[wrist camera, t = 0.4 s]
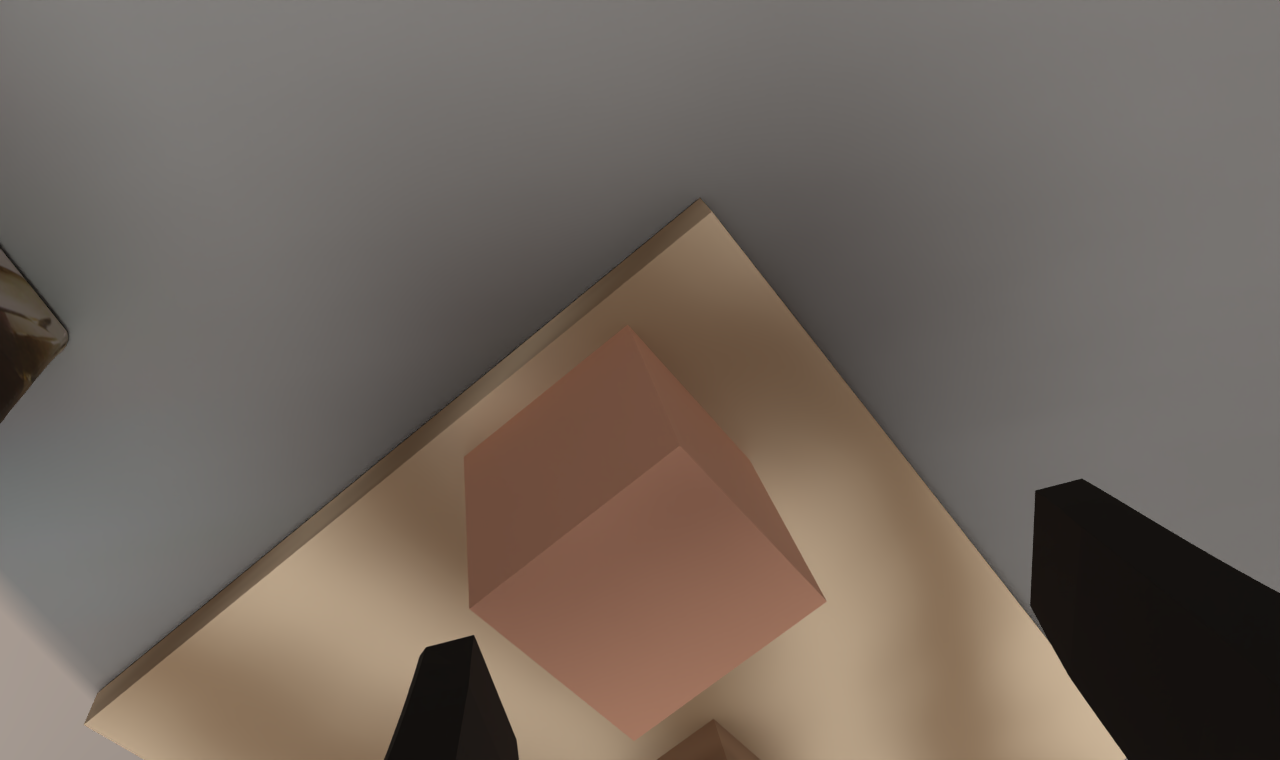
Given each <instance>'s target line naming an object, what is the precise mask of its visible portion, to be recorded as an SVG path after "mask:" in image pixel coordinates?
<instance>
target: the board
mask: <svg viewBox="0 0 1280 760" xmlns="http://www.w3.org/2000/svg"><path fill="white" fill-rule="evenodd" d="M626 325H629V327H630V328H631V329H632V330H633V331H634V332H635V333H636V334H637V335H638V337H639V338H640V339H641V340H642V341H643V342H644V343H645V344H646V345H647V347H648V348H649V349H650V350H651V351H652V352H653V353H654V354H655V355H656V357H657V358H658V359H659V360H660V361H661V362H662V363H663V364H664V365H665V367H666V368H667V369H668V370H669V371H670V372H671V373H672V374H673V375H674V377H675V378H676V379H677V380H678V381H679V382H680V383H681V384H682V385H683V387H684V388H685V389H686V390H687V391H688V392H689V393H690V394H691V395H692V397H693V398H694V399H695V400H696V401H697V402H698V403H699V404H700V405H701V407H702V408H703V409H704V410H705V411H706V412H707V413H708V414H709V415H710V417H711V418H712V419H713V420H714V421H715V422H716V423H717V424H718V425H719V427H720V428H721V429H722V430H723V431H724V432H725V433H726V434H727V435H728V437H729V438H730V439H731V440H732V441H733V442H734V443H735V444H736V445H737V447H738V448H739V449H740V450H741V451H742V452H743V453H744V454H745V455H746V457H747V458H748V459H749V460H750V461H751V463H752V465H753V467H754V469H755V471H756V472H757V474H758V476H759V478H760V480H761V482H762V483H763V485H764V487H765V489H766V491H767V493H768V494H769V496H770V498H771V500H772V502H773V504H774V505H775V507H776V509H777V511H778V513H779V515H780V516H781V518H782V520H783V522H784V524H785V526H786V527H787V529H788V531H789V533H790V535H791V537H792V538H793V540H794V542H795V544H796V546H797V548H798V549H799V551H800V553H801V555H802V557H803V559H804V560H805V562H806V564H807V566H808V568H809V570H810V571H811V573H812V575H813V577H814V579H815V581H816V582H817V584H818V586H819V588H820V590H821V592H822V593H823V595H824V597H825V599H826V601H827V602H826V603H824V604H823V605H821V606H820V607H819V608H817V609H816V610H814V611H813V612H812V613H810V614H809V615H808V616H806V617H805V618H803V619H802V620H801V621H799V622H798V623H797V624H795V625H794V626H792V627H791V628H790V629H788V630H787V631H785V632H784V633H783V634H781V635H780V636H779V637H777V638H776V639H774V640H773V641H772V642H770V643H769V644H768V645H766V646H765V647H763V648H762V649H761V650H759V651H758V652H757V653H755V654H754V655H752V656H751V657H750V658H748V659H747V660H745V661H744V662H743V663H741V664H740V665H739V666H737V667H736V668H734V669H733V670H732V671H730V672H729V673H728V674H726V675H725V676H723V677H722V678H721V679H719V680H718V681H717V682H715V683H714V684H712V685H711V686H710V687H708V688H707V689H705V690H704V691H703V692H701V693H700V694H699V695H697V696H696V697H694V698H693V699H692V700H690V701H689V702H688V703H686V704H685V705H683V706H682V707H681V708H679V709H678V710H677V711H675V712H674V713H672V714H671V715H670V716H668V717H667V718H665V719H664V720H663V721H661V722H660V723H659V724H657V725H656V726H654V727H653V728H652V729H650V730H649V731H648V732H646V733H645V734H643V735H642V736H641V737H639V738H638V739H637V740H635V741H633V740H632V739H631V738H629V737H628V736H627V735H626V734H624V733H623V732H622V731H621V730H619V729H618V728H617V727H616V726H614V725H613V724H612V723H611V722H609V721H608V720H607V719H606V718H605V717H603V716H602V715H601V714H600V713H598V712H597V711H596V710H595V709H593V708H592V707H591V706H590V705H588V704H587V703H586V702H585V701H583V700H582V699H581V698H580V697H578V696H577V695H576V694H575V693H573V692H572V691H571V690H570V689H568V688H567V687H566V686H565V685H563V684H562V683H561V682H560V681H558V680H557V679H556V678H555V677H553V676H552V675H551V674H550V673H548V672H547V671H546V670H545V669H543V668H542V667H541V666H540V665H538V664H537V663H536V662H535V661H533V660H532V659H531V658H530V657H528V656H527V655H526V654H525V653H524V652H522V651H521V650H520V649H519V648H517V647H516V646H515V645H514V644H512V643H511V642H510V641H509V640H507V639H506V638H505V637H504V636H502V635H501V634H500V633H499V632H497V631H496V630H495V629H494V628H492V627H491V626H490V625H489V624H487V623H486V622H485V621H484V620H482V619H481V618H480V617H479V616H477V615H476V614H475V613H474V612H472V611H471V610H470V609H469V588H468V560H467V533H466V505H465V478H464V456H466V455H467V454H468V453H469V452H471V451H472V450H473V449H474V448H476V447H477V446H478V445H479V444H480V443H482V442H483V441H484V440H485V439H487V438H488V437H489V436H490V435H492V434H493V433H494V432H495V431H497V430H498V429H499V428H500V427H501V426H503V425H504V424H505V423H506V422H508V421H509V420H510V419H511V418H513V417H514V416H515V415H516V414H518V413H519V412H520V411H521V410H523V409H524V408H525V407H526V406H527V405H529V404H530V403H531V402H532V401H534V400H535V399H536V398H537V397H539V396H540V395H541V394H542V393H544V392H545V391H546V390H547V389H548V388H550V387H551V386H552V385H553V384H555V383H556V382H557V381H558V380H560V379H561V378H562V377H563V376H565V375H566V374H567V373H568V372H570V371H571V370H572V369H573V368H574V367H576V366H577V365H578V364H579V363H581V362H582V361H583V360H584V359H586V358H587V357H588V356H589V355H591V354H592V353H593V352H594V351H596V350H597V349H598V348H599V347H600V346H602V345H603V344H604V343H605V342H607V341H608V340H609V339H610V338H612V337H613V336H614V335H615V334H617V333H618V332H619V331H620V330H621V329H623V328H624V327H625V326H626ZM471 635H474V636H475V638H476V640H477V643H478V645H479V648H480V650H481V653H482V655H483V658H484V660H485V663H486V665H487V668H488V670H489V673H490V675H491V678H492V680H493V683H494V685H495V687H496V690H497V692H498V695H499V697H500V700H501V702H502V705H503V707H504V710H505V712H506V715H507V717H508V720H509V722H510V725H511V727H512V730H513V732H514V735H515V737H516V739H517V747H518V755H519V760H657V759H658V758H660V757H661V756H662V755H664V754H665V753H667V752H668V751H669V750H671V749H672V748H674V747H675V746H676V745H678V744H679V743H681V742H682V741H683V740H685V739H686V738H688V737H689V736H690V735H692V734H693V733H695V732H696V731H697V730H699V729H700V728H701V727H703V726H704V725H706V724H707V723H708V722H710V721H711V720H713V719H714V720H715V721H717V722H718V723H719V724H720V725H721V726H722V727H723V728H725V729H726V730H727V731H728V732H729V733H730V734H731V735H733V736H734V737H735V738H736V739H737V740H738V741H740V742H741V743H742V744H743V745H744V746H745V747H746V748H748V749H749V750H750V751H751V752H752V753H753V754H754V755H756V756H757V757H758V758H759V759H760V760H1124V759H1125V758H1126V756H1125V755H1124V753H1123V752H1122V751H1121V749H1120V748H1119V747H1118V745H1117V744H1116V742H1115V741H1114V740H1113V738H1112V737H1111V735H1110V734H1109V733H1108V731H1107V730H1106V728H1105V727H1104V726H1103V724H1102V723H1101V721H1100V720H1099V719H1098V717H1097V716H1096V714H1095V713H1094V712H1093V710H1092V709H1091V707H1090V706H1089V705H1088V703H1087V702H1086V700H1085V699H1084V697H1083V696H1082V695H1081V693H1080V692H1079V690H1078V689H1077V687H1076V686H1075V685H1074V683H1073V682H1072V680H1071V679H1070V677H1069V676H1068V674H1067V672H1066V670H1065V669H1064V667H1063V665H1062V663H1061V661H1060V660H1059V658H1058V656H1057V654H1056V653H1055V651H1054V649H1053V647H1052V645H1051V644H1050V643H1049V641H1048V640H1047V639H1046V637H1045V636H1044V635H1043V634H1042V632H1041V631H1040V630H1039V628H1038V627H1037V626H1036V625H1035V623H1034V622H1033V621H1032V620H1031V618H1030V617H1029V616H1028V614H1027V613H1026V612H1025V611H1024V609H1023V608H1022V607H1021V606H1020V604H1019V603H1018V602H1017V600H1016V599H1015V598H1014V597H1013V595H1012V594H1011V593H1010V591H1009V590H1008V589H1007V588H1006V586H1005V585H1004V584H1003V583H1002V581H1001V580H1000V579H999V577H998V576H997V575H996V574H995V572H994V571H993V570H992V569H991V567H990V566H989V565H988V563H987V562H986V561H985V560H984V558H983V557H982V556H981V554H980V553H979V552H978V551H977V549H976V548H975V547H974V546H973V544H972V543H971V542H970V540H969V539H968V538H967V537H966V535H965V534H964V533H963V531H962V530H961V529H960V528H959V526H958V525H957V524H956V523H955V521H954V520H953V519H952V517H951V516H950V515H949V514H948V512H947V511H946V510H945V509H944V507H943V506H942V505H941V503H940V502H939V501H938V500H937V498H936V497H935V496H934V494H933V493H932V492H931V491H930V489H929V488H928V487H927V486H926V484H925V483H924V482H923V480H922V479H921V478H920V477H919V475H918V474H917V473H916V471H915V470H914V469H913V468H912V466H911V465H910V464H909V463H908V461H907V460H906V459H905V457H904V456H903V455H902V454H901V452H900V451H899V450H898V449H897V447H896V446H895V445H894V443H893V442H892V441H891V440H890V438H889V437H888V436H887V434H886V433H885V432H884V431H883V429H882V428H881V427H880V426H879V424H878V423H877V422H876V420H875V419H874V418H873V417H872V415H871V414H870V413H869V412H868V410H867V409H866V408H865V406H864V405H863V404H862V403H861V401H860V400H859V399H858V397H857V396H856V395H855V394H854V392H853V391H852V390H851V389H850V387H849V386H848V385H847V383H846V382H845V381H844V380H843V378H842V377H841V376H840V374H839V373H838V372H837V371H836V369H835V368H834V367H833V366H832V364H831V363H830V362H829V360H828V359H827V358H826V357H825V355H824V354H823V353H822V352H821V350H820V349H819V348H818V346H817V345H816V344H815V343H814V341H813V340H812V339H811V337H810V336H809V335H808V334H807V332H806V331H805V330H804V329H803V327H802V326H801V325H800V323H799V322H798V321H797V320H796V318H795V317H794V316H793V315H792V313H791V312H790V311H789V309H788V308H787V307H786V306H785V304H784V303H783V302H782V300H781V299H780V298H779V297H778V295H777V294H776V293H775V292H774V290H773V289H772V288H771V286H770V285H769V284H768V283H767V281H766V280H765V279H764V277H763V276H762V275H761V274H760V272H759V271H758V270H757V269H756V267H755V266H754V265H753V263H752V262H751V261H750V260H749V258H748V257H747V256H746V255H745V253H744V252H743V251H742V249H741V248H740V247H739V246H738V244H737V243H736V242H735V240H734V239H733V238H732V237H731V235H730V234H729V233H728V232H727V230H726V229H725V228H724V226H723V225H722V224H721V223H720V221H719V220H718V219H717V217H716V216H715V215H714V214H713V212H712V211H711V210H710V209H709V208H708V206H707V205H706V204H705V203H704V202H703V201H702V199H701V198H699V199H698V200H697V201H696V202H695V203H693V204H692V205H691V206H690V207H688V208H687V209H686V210H685V211H684V212H682V213H681V214H680V215H679V216H678V217H676V218H675V219H674V220H673V221H671V222H670V223H669V224H668V225H667V226H665V227H664V228H663V229H662V230H660V231H659V232H658V233H657V234H656V235H654V236H653V237H652V238H651V239H650V240H648V241H647V242H646V243H645V244H643V245H642V246H641V247H640V248H639V249H637V250H636V251H635V252H634V253H632V254H631V255H630V256H629V257H628V258H626V259H625V260H624V261H623V262H622V263H620V264H619V265H618V266H617V267H615V268H614V269H613V270H612V271H611V272H609V273H608V274H607V275H606V276H604V277H603V278H602V279H601V280H600V281H598V282H597V283H596V284H595V285H594V286H592V287H591V288H590V289H589V290H587V291H586V292H585V293H584V294H583V295H581V296H580V297H579V298H578V299H576V300H575V301H574V302H573V303H572V304H570V305H569V306H568V307H567V308H566V309H564V310H563V311H562V312H561V313H559V314H558V315H557V316H556V317H555V318H553V319H552V320H551V321H550V322H548V323H547V324H546V325H545V326H544V327H542V328H541V329H540V330H539V331H538V332H536V333H535V334H534V335H533V336H531V337H530V338H529V339H528V340H527V341H525V342H524V343H523V344H522V345H520V346H519V347H518V348H517V349H516V350H514V351H513V352H512V353H511V354H510V355H508V356H507V357H506V358H505V359H503V360H502V361H501V362H500V363H499V364H497V365H496V366H495V367H494V368H493V369H491V370H490V371H489V372H488V373H486V374H485V375H484V376H483V377H482V378H480V379H479V380H478V381H477V382H475V383H474V384H473V385H472V386H471V387H469V388H468V389H467V390H466V391H465V392H463V393H462V394H461V395H460V396H458V397H457V398H456V399H455V400H454V401H452V402H451V403H450V404H449V405H447V406H446V407H445V408H444V409H443V410H441V411H440V412H439V413H438V414H437V415H435V416H434V417H433V418H432V419H430V420H429V421H428V422H427V423H426V424H424V425H423V426H422V427H421V428H419V429H418V430H417V431H416V432H415V433H413V434H412V435H411V436H410V437H409V438H407V439H406V440H405V441H404V442H402V443H401V444H400V445H399V446H398V447H396V448H395V449H394V450H393V451H391V452H390V453H389V454H388V455H387V456H385V457H384V458H383V459H382V460H381V461H379V462H378V463H377V464H376V465H374V466H373V467H372V468H371V469H370V470H368V471H367V472H366V473H365V474H363V475H362V476H361V477H360V478H359V479H357V480H356V481H355V482H354V483H353V484H351V485H350V486H349V487H348V488H346V489H345V490H344V491H343V492H342V493H340V494H339V495H338V496H337V497H335V498H334V499H333V500H332V501H331V502H329V503H328V504H327V505H326V506H325V507H323V508H322V509H321V510H320V511H318V512H317V513H316V514H315V515H314V516H312V517H311V518H310V519H309V520H307V521H306V522H305V523H304V524H303V525H301V526H300V527H299V528H298V529H297V530H295V531H294V532H293V533H292V534H290V535H289V536H288V537H287V538H286V539H284V540H283V541H282V542H281V543H279V544H278V545H277V546H276V547H275V548H273V549H272V550H271V551H270V552H269V553H267V554H266V555H265V556H264V557H262V558H261V559H260V560H259V561H258V562H256V563H255V564H254V565H253V566H252V567H250V568H249V569H248V570H247V571H245V572H244V573H243V574H242V575H241V576H239V577H238V578H237V579H236V580H234V581H233V582H232V583H231V584H230V585H228V586H227V587H226V588H225V589H224V590H222V591H221V592H220V593H219V594H217V595H216V596H215V597H214V598H213V599H211V600H210V601H209V602H208V603H206V604H205V605H204V606H203V607H202V608H200V609H199V610H198V611H197V612H196V613H194V614H193V615H192V616H191V617H189V618H188V619H187V620H186V621H185V622H183V623H182V624H181V625H180V626H178V627H177V628H176V629H175V630H174V631H172V632H171V633H170V634H169V635H168V636H166V637H165V638H164V639H163V640H161V641H160V642H159V643H158V644H157V645H155V646H154V647H153V648H152V649H150V650H149V651H148V652H147V653H146V654H144V655H143V656H142V657H141V658H140V659H138V660H137V661H136V662H135V663H133V664H132V665H131V666H130V667H129V668H127V669H126V670H125V671H124V672H122V673H121V674H120V675H119V676H118V677H116V678H115V679H114V680H113V681H112V682H110V683H109V684H108V685H107V686H105V687H104V688H103V689H102V690H101V691H99V692H98V693H97V696H96V698H95V700H94V703H93V705H92V707H91V710H90V712H89V714H88V716H87V719H86V721H85V723H84V725H85V726H87V727H88V728H90V729H92V730H93V731H95V732H97V733H99V734H100V735H102V736H104V737H106V738H107V739H109V740H111V741H113V742H114V743H116V744H118V745H119V746H121V747H123V748H125V749H126V750H128V751H130V752H132V753H133V754H135V755H137V756H139V757H140V758H142V759H144V760H384V758H385V756H386V753H387V750H388V748H389V745H390V742H391V739H392V737H393V734H394V731H395V729H396V726H397V723H398V720H399V718H400V715H401V712H402V709H403V706H404V703H405V700H406V697H407V694H408V691H409V688H410V685H411V682H412V679H413V676H414V673H415V669H416V666H417V663H418V660H419V656H420V655H421V653H422V652H423V650H424V649H425V648H426V647H428V646H432V645H436V644H440V643H444V642H448V641H452V640H456V639H460V638H463V637H467V636H471Z"/></svg>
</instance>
